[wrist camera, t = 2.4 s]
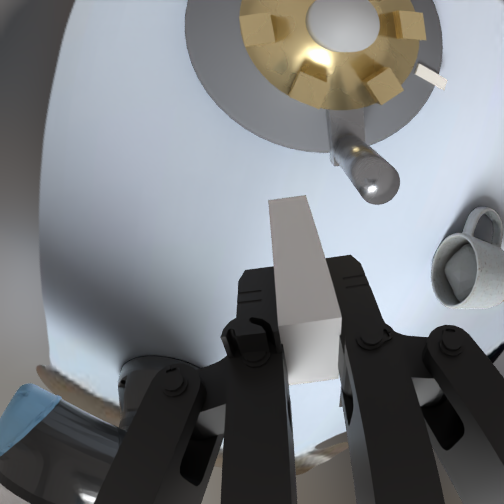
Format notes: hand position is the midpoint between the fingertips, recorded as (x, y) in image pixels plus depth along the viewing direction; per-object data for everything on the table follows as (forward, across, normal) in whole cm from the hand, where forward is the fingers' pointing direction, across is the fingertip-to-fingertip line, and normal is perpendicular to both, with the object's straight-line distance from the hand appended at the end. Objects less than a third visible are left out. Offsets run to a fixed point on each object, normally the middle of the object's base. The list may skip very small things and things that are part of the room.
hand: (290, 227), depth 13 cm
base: (+14, -5, -9) cm, 17 cm away
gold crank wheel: (+12, -5, -7) cm, 15 cm away
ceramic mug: (+15, -20, +14) cm, 28 cm away
